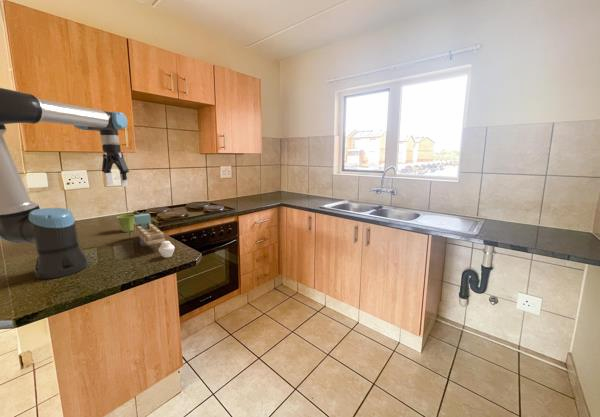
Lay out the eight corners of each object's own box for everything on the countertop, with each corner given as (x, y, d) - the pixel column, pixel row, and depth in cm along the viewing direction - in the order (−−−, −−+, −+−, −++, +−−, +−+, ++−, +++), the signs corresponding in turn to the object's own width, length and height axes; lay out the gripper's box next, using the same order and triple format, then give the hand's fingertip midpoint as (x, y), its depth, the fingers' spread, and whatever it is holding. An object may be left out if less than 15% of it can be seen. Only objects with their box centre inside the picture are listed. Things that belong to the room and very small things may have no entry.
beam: (166, 250, 119) (164, 232, 118) (149, 254, 115) (146, 236, 113) (149, 234, 143) (147, 219, 141) (135, 237, 138) (132, 222, 137)
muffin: (160, 254, 114) (158, 239, 113) (176, 252, 116) (174, 237, 115) (158, 260, 108) (156, 244, 107) (174, 257, 110) (173, 242, 109)
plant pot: (120, 229, 154) (118, 215, 152) (139, 227, 158) (137, 213, 156) (117, 233, 145) (114, 218, 144) (137, 231, 149) (134, 216, 148)
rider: (152, 227, 135) (150, 214, 133) (137, 230, 130) (135, 216, 129) (149, 225, 138) (148, 213, 137) (135, 228, 134) (133, 215, 133)
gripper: (133, 143, 131) (138, 186, 135) (105, 145, 143) (111, 184, 147) (117, 143, 125) (123, 187, 129) (89, 144, 136) (96, 185, 140)
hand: (117, 185), depth 138 cm, fingers open, 13 cm apart
